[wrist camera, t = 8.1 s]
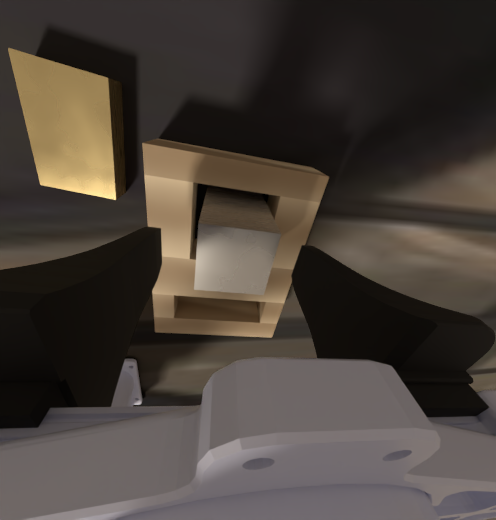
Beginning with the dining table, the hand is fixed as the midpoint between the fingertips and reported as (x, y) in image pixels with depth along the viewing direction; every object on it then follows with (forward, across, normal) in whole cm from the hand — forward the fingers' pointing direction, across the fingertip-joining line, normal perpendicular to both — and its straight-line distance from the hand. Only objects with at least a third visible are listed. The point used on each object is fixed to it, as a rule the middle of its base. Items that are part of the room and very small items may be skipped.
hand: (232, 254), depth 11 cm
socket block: (+6, 0, +3) cm, 6 cm away
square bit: (+6, 0, 0) cm, 6 cm away
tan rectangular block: (+6, +9, -4) cm, 11 cm away
